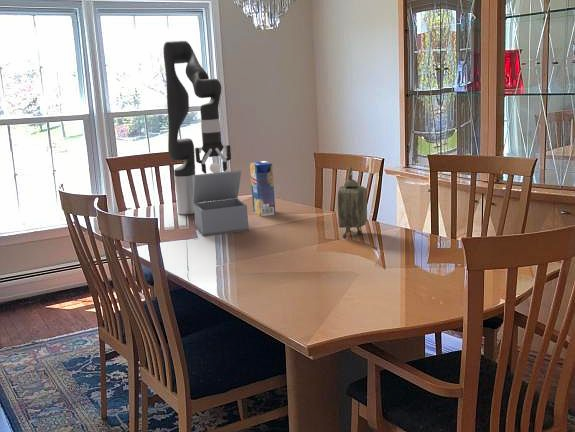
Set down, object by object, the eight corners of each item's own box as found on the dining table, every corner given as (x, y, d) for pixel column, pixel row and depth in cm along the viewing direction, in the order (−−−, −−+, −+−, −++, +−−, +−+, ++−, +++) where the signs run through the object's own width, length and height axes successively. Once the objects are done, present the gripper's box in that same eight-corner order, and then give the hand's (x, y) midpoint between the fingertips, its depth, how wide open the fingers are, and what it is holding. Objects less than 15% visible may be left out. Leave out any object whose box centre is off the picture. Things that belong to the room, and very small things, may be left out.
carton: (196, 227, 264) (193, 203, 262) (239, 222, 269) (237, 198, 267) (203, 236, 249) (201, 210, 247) (248, 230, 254) (246, 205, 252)
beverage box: (268, 209, 289) (264, 160, 284) (275, 214, 279) (272, 163, 274) (253, 211, 287) (249, 162, 282) (260, 216, 277) (256, 165, 272)
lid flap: (193, 203, 262) (189, 189, 266) (237, 198, 267) (233, 184, 271) (194, 176, 249) (191, 162, 254) (241, 171, 255) (236, 157, 259)
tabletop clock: (343, 229, 246) (341, 164, 241) (367, 229, 244) (365, 163, 239) (339, 239, 232) (336, 170, 227) (364, 239, 230) (362, 170, 225)
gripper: (226, 128, 260) (230, 169, 264) (191, 131, 256) (195, 172, 260) (231, 130, 253) (234, 171, 257) (194, 133, 249) (198, 175, 253)
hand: (214, 172), depth 259 cm, fingers open, 7 cm apart
